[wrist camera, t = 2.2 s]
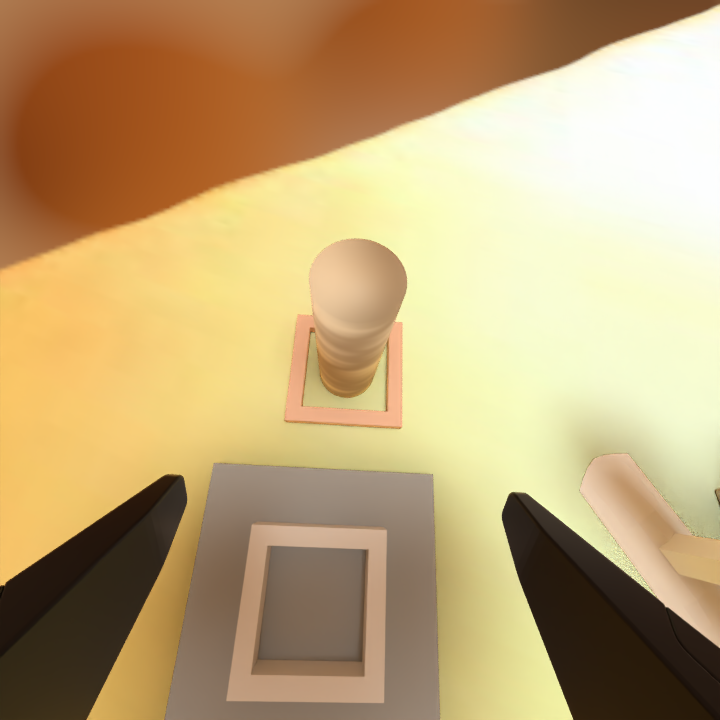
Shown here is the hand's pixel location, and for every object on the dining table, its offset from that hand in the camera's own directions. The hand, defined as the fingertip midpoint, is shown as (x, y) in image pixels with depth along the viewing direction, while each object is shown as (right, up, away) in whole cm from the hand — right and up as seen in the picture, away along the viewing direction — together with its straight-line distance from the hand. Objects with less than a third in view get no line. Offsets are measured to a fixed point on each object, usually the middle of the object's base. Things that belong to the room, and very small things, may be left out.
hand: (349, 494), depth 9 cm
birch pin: (-1, +3, +16) cm, 16 cm away
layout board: (-2, -10, +11) cm, 15 cm away
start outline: (-1, +3, +15) cm, 16 cm away
